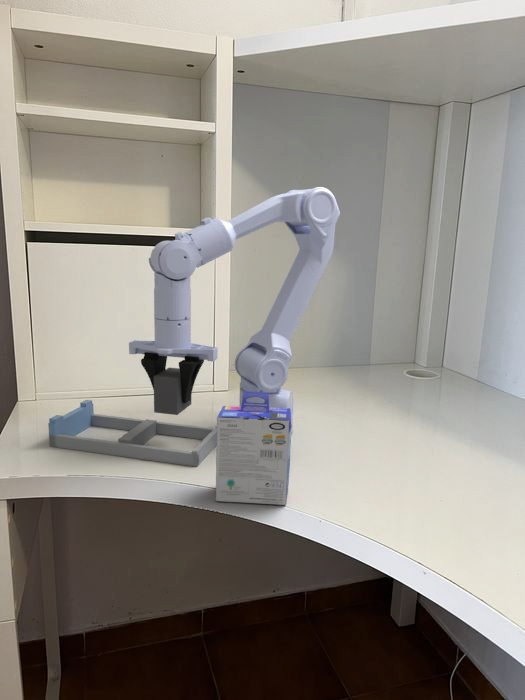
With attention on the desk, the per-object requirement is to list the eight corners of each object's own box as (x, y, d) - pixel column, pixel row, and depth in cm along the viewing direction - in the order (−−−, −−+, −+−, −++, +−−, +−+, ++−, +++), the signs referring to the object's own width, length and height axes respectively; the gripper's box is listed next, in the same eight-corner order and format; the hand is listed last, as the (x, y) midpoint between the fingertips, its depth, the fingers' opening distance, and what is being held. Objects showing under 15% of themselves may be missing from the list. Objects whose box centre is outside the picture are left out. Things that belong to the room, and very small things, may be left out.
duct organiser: (221, 440, 96) (221, 414, 95) (196, 466, 85) (197, 438, 84) (88, 423, 102) (87, 399, 101) (49, 446, 91) (48, 419, 90)
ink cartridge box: (288, 488, 79) (293, 391, 76) (288, 506, 73) (292, 403, 70) (220, 484, 79) (221, 387, 76) (214, 502, 74) (215, 399, 71)
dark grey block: (191, 404, 93) (191, 369, 91) (177, 415, 87) (177, 378, 86) (169, 401, 94) (169, 367, 92) (154, 412, 88) (153, 376, 87)
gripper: (118, 318, 85) (121, 402, 88) (207, 324, 81) (206, 411, 84) (139, 312, 92) (141, 390, 94) (222, 318, 88) (221, 398, 91)
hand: (173, 399), depth 90 cm, fingers closed on dark grey block, 4 cm apart
